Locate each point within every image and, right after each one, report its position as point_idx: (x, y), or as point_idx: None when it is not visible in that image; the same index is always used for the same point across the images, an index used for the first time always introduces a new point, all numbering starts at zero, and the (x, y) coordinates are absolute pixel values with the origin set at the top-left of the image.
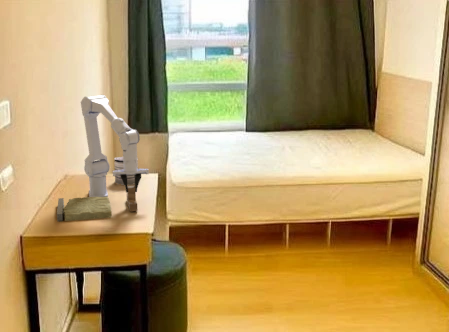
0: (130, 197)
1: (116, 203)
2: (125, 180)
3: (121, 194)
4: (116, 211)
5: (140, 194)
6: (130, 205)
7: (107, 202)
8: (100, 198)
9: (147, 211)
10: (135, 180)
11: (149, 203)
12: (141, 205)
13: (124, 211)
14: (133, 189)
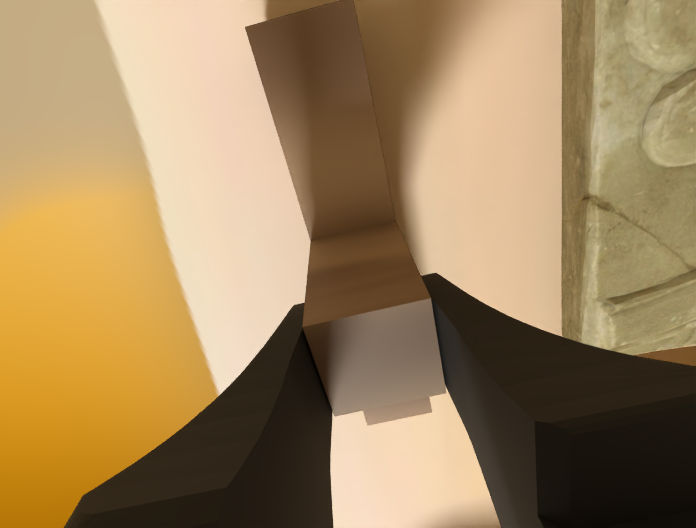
0: (372, 237)
1: (498, 304)
2: (552, 374)
3: (464, 473)
4: (498, 76)
5: (332, 479)
6: (341, 4)
7: (619, 199)
8: (682, 297)
9: (163, 80)
10: (275, 436)
11: (214, 313)
12: (273, 262)
13: (414, 77)
14: (333, 303)
